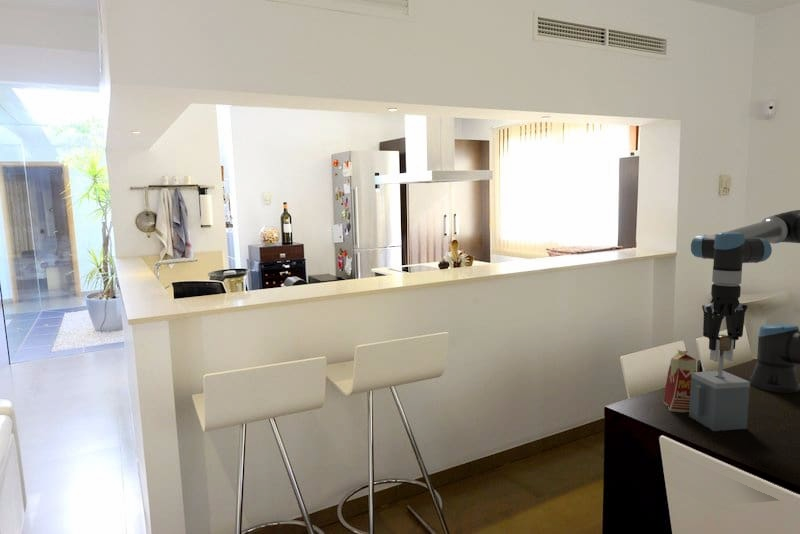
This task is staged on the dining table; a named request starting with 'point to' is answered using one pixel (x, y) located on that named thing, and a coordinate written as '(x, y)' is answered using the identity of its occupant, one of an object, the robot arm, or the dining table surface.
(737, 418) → the grey box with hole
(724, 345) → the plunger
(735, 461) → the dining table surface
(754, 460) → the dining table surface
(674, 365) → the milk carton
